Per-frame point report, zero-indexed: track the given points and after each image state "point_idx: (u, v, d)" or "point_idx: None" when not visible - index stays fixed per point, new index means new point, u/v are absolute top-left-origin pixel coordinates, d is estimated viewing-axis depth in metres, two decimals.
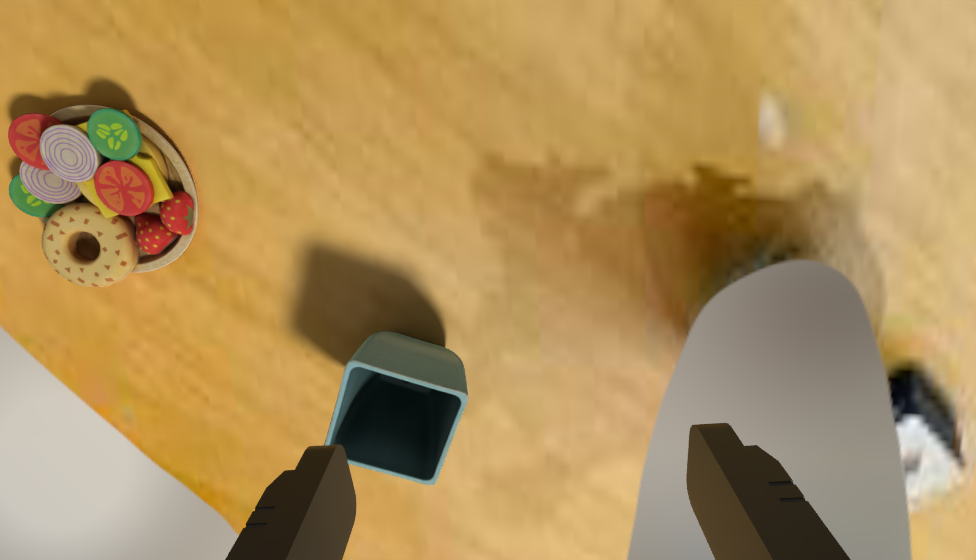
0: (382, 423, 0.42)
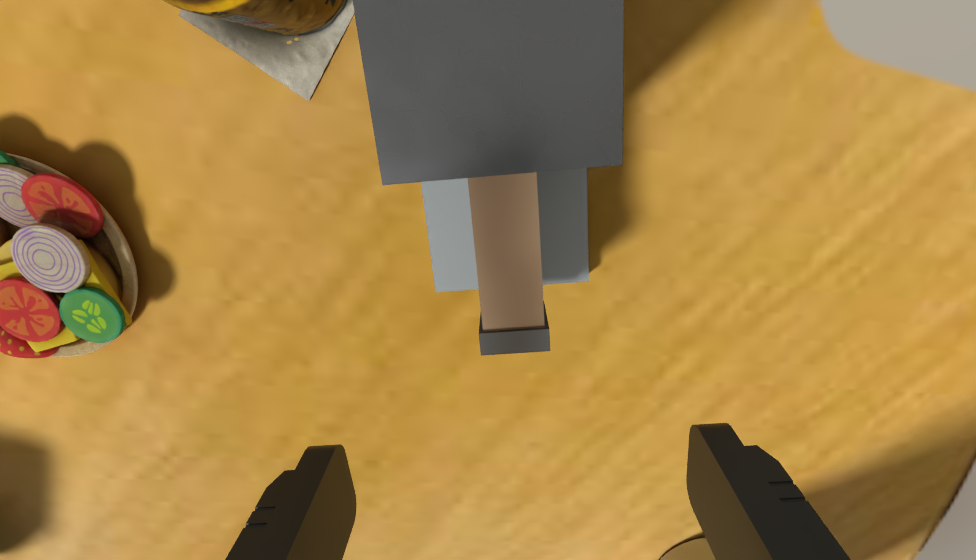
0: None
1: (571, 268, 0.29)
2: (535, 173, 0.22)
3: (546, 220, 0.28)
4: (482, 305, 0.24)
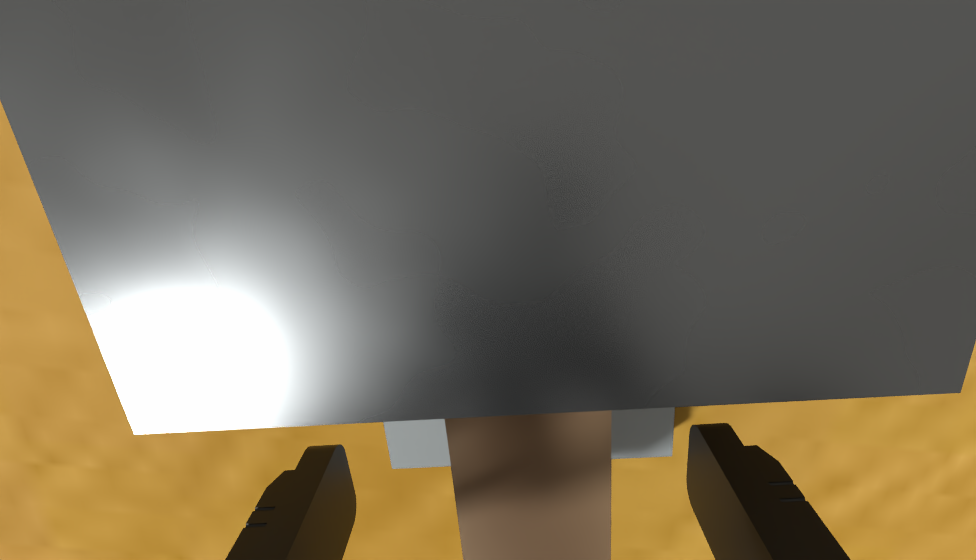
0: None
1: (641, 434, 0.16)
2: None
3: None
4: None
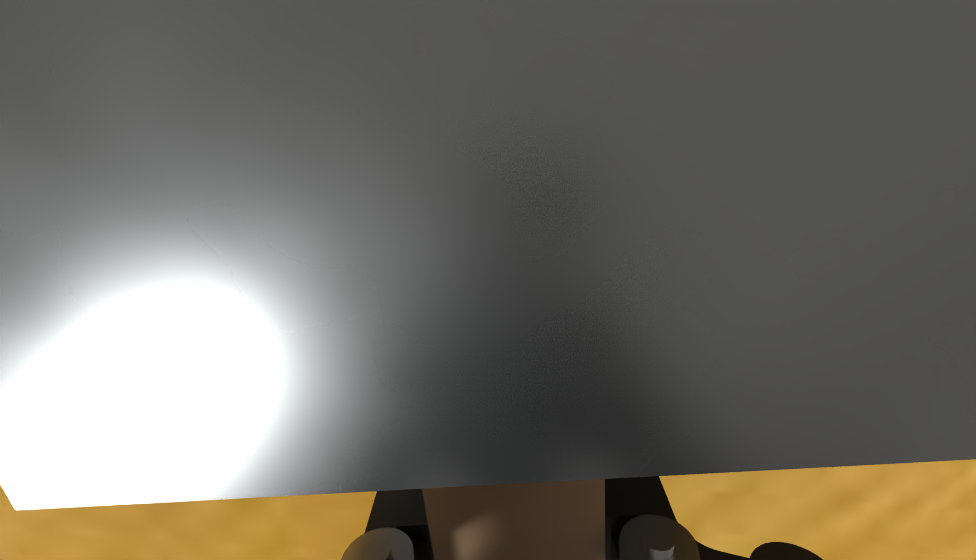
0: None
1: None
2: None
3: None
4: None
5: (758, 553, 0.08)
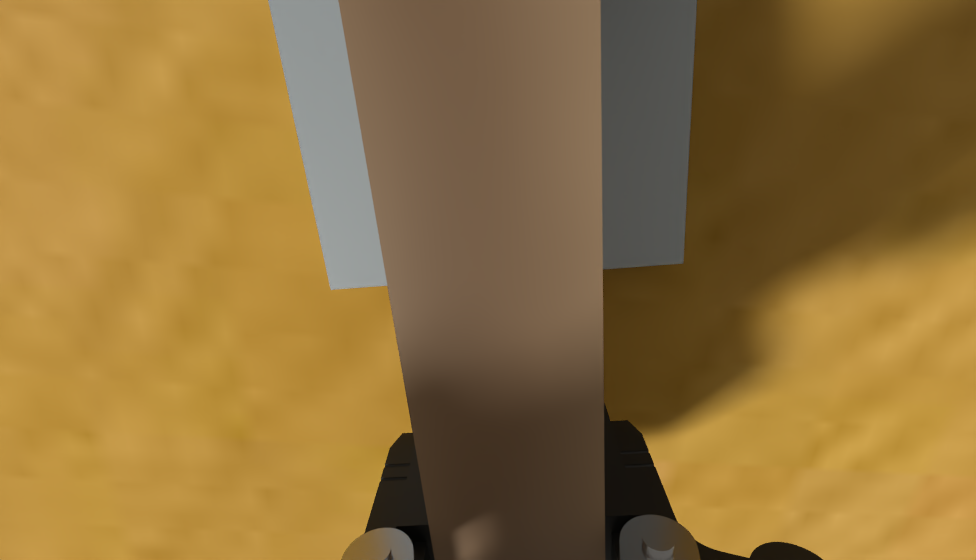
0: None
1: (644, 232, 0.12)
2: (599, 352, 0.07)
3: None
4: None
5: (758, 553, 0.08)
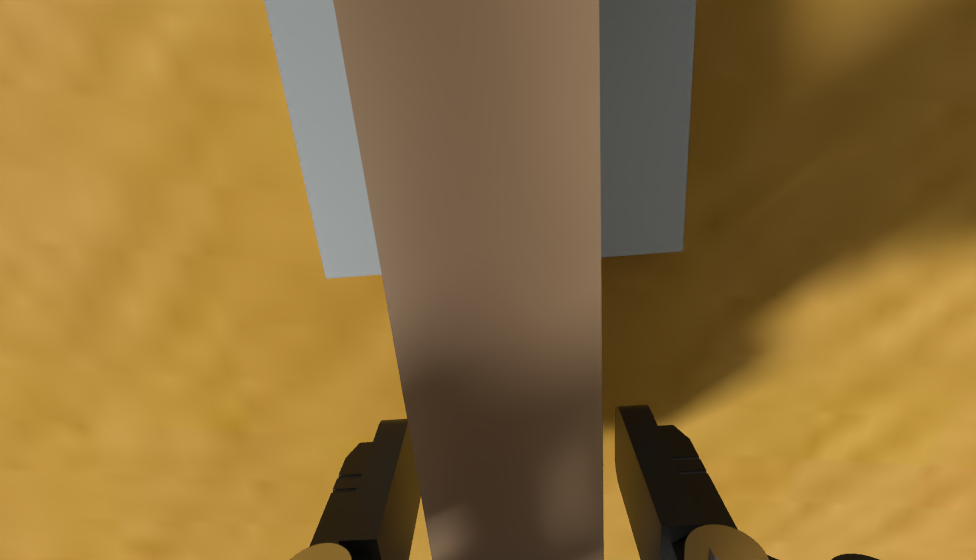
0: None
1: (643, 219, 0.12)
2: (598, 341, 0.07)
3: None
4: None
5: None
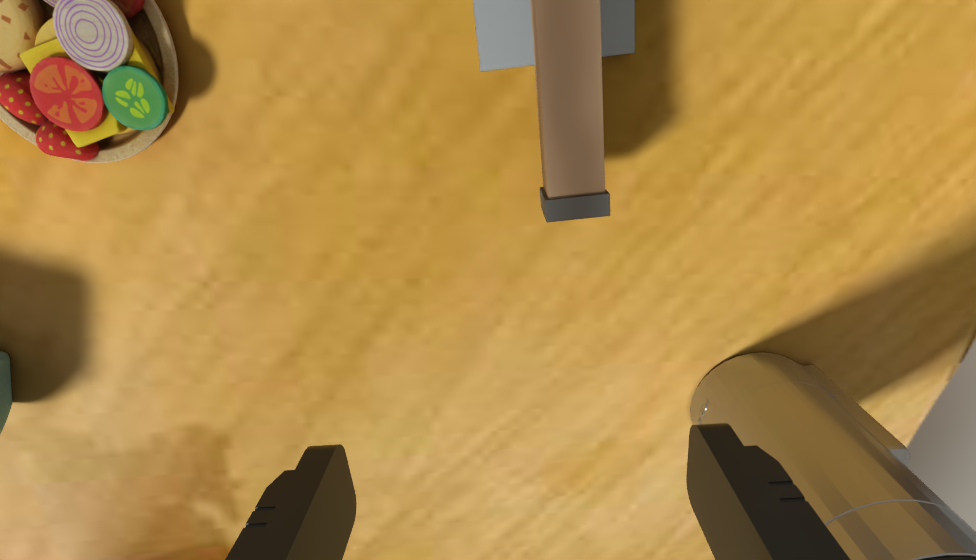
0: None
1: (617, 38, 0.29)
2: (600, 39, 0.24)
3: None
4: (548, 172, 0.27)
5: None
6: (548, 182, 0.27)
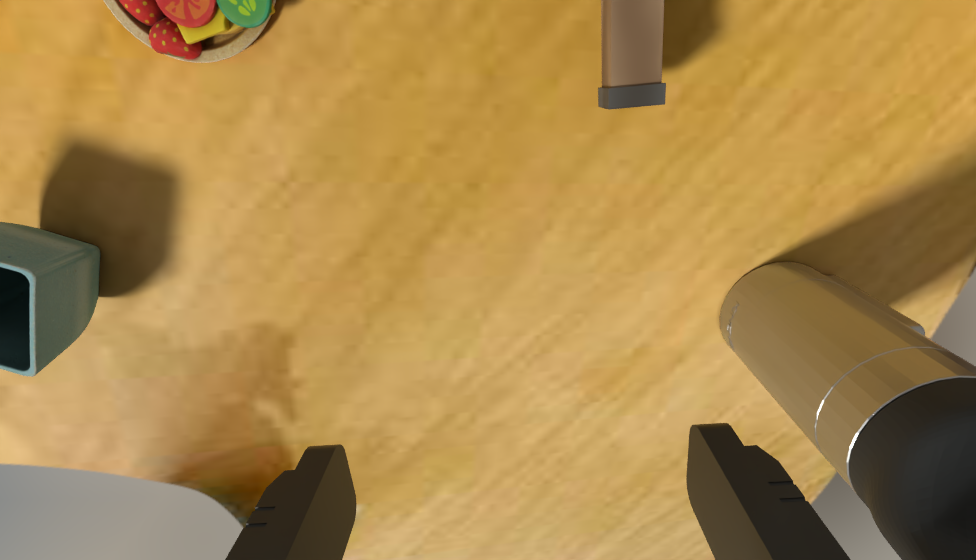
0: None
1: None
2: None
3: None
4: (612, 63, 0.30)
5: None
6: (612, 72, 0.30)
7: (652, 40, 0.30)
